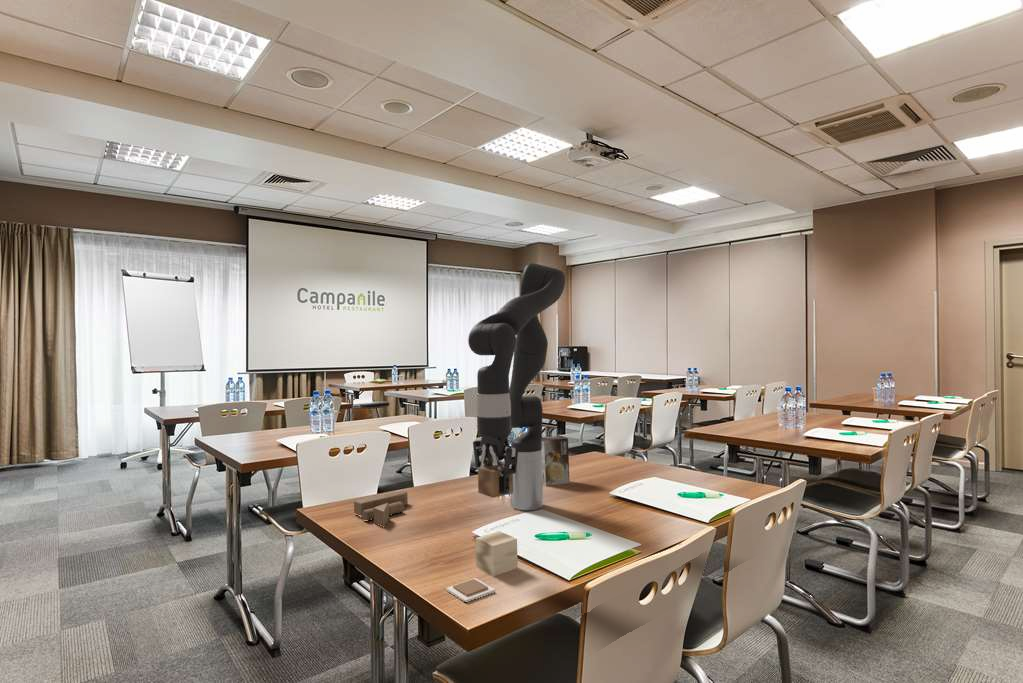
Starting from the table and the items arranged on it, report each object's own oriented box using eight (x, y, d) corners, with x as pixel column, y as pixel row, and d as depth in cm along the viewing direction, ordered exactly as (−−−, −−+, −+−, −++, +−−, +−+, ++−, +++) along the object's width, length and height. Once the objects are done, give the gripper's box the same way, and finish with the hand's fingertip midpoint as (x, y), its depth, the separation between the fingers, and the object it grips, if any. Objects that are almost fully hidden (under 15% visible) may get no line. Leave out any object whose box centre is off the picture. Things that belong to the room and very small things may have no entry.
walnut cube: (478, 492, 119) (477, 467, 119) (498, 488, 122) (497, 463, 122) (493, 497, 114) (492, 471, 114) (513, 492, 118) (512, 467, 118)
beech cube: (476, 567, 119) (475, 537, 119) (499, 559, 123) (499, 531, 123) (493, 576, 113) (493, 545, 114) (517, 568, 117) (517, 538, 118)
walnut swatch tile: (446, 590, 107) (446, 585, 107) (475, 580, 111) (475, 575, 111) (465, 603, 102) (465, 598, 102) (495, 592, 106) (495, 587, 106)
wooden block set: (350, 497, 158) (403, 486, 170) (350, 517, 158) (403, 504, 170) (379, 509, 145) (434, 495, 158) (380, 530, 145) (435, 515, 158)
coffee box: (563, 479, 194) (562, 435, 194) (570, 484, 188) (569, 438, 188) (539, 482, 192) (538, 437, 192) (545, 486, 186) (544, 439, 186)
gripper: (527, 414, 115) (529, 494, 115) (488, 409, 126) (490, 481, 126) (500, 418, 110) (501, 500, 110) (461, 412, 122) (463, 487, 122)
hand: (495, 490), depth 118 cm, fingers closed on walnut cube, 5 cm apart
